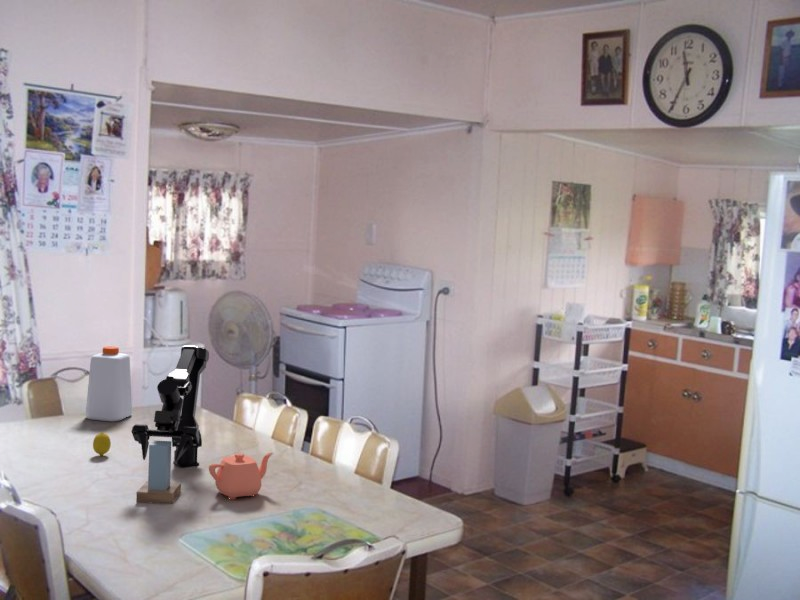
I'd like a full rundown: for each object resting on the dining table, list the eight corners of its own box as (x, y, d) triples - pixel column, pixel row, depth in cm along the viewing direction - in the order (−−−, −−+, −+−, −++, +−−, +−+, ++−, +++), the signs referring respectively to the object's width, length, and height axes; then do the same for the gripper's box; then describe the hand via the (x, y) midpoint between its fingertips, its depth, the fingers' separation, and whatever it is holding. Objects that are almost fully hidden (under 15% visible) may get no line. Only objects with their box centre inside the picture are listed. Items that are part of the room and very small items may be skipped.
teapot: (280, 496, 245) (282, 456, 244) (215, 505, 234) (217, 463, 233) (263, 483, 256) (264, 444, 255) (200, 491, 245) (201, 451, 244)
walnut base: (146, 491, 243) (146, 481, 242) (180, 492, 243) (180, 482, 243) (136, 502, 233) (136, 492, 232) (172, 504, 233) (172, 493, 233)
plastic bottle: (81, 419, 322) (82, 348, 319) (101, 411, 336) (102, 343, 334) (117, 423, 319) (118, 351, 317) (135, 414, 334) (137, 346, 332)
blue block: (152, 484, 240) (154, 440, 239) (170, 485, 240) (171, 441, 239) (147, 489, 235) (149, 445, 234) (165, 490, 235) (166, 445, 234)
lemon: (104, 458, 272) (105, 435, 271) (89, 457, 273) (89, 433, 272) (113, 454, 277) (114, 431, 277) (98, 452, 279) (99, 429, 278)
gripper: (134, 397, 240) (121, 444, 230) (198, 400, 241) (188, 447, 231) (141, 417, 249) (129, 463, 239) (203, 420, 249) (194, 466, 239)
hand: (159, 459), depth 237 cm, fingers open, 9 cm apart
